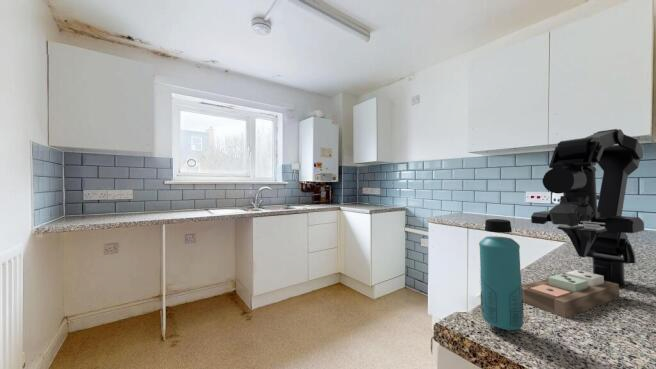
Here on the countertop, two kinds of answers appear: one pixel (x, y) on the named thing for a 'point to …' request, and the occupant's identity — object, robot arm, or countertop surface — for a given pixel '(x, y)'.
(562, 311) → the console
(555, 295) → the one dot button
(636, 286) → the countertop surface
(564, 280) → the three dot button
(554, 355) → the countertop surface
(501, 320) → the beverage bottle
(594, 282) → the two dot button
